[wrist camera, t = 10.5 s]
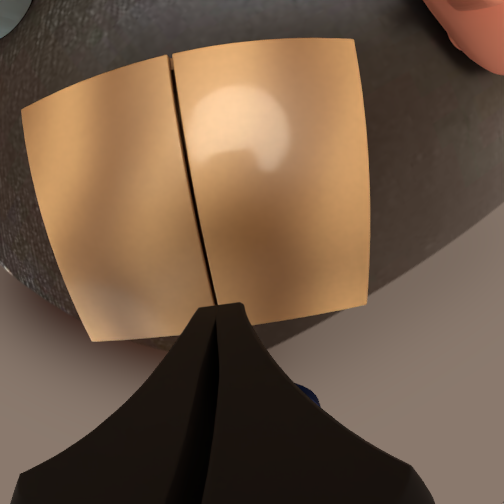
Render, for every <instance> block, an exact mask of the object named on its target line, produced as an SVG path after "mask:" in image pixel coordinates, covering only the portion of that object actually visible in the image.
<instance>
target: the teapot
mask: <svg viewBox="0 0 504 504" xmlns="http://www.w3.org/2000/svg"><path fill="white" fill-rule="evenodd" d="M423 1H424V3H425V4H426V6H427V7H428V8H429V10H430V11H431V12H432V14H433V15H434V16H435V18H436V19H437V20H438V22H439V23H440V24H441V25H442V27H443V28H444V29H445V30H446V32H447V34H448V37H449V39H450V41H451V42H452V44H453V45H454V46H455V47H456V48H458V49H459V50H462V51H463V52H464V53H465V54H466V55H467V56H468V57H469V58H470V59H471V60H473V61H474V62H475V63H477V64H478V65H480V66H481V67H483V68H485V69H486V70H488V71H490V72H492V73H495V74H498V75H504V0H423Z"/></svg>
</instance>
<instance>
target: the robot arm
mask: <svg viewBox="0 0 504 504" xmlns="http://www.w3.org/2000/svg"><path fill="white" fill-rule="evenodd" d="M10 504H435V502H434V500H433V497H432V495H431V493H430V492H429V490H428V488H427V487H426V485H425V484H424V482H423V481H422V479H421V478H420V476H419V475H418V474H417V472H416V471H415V470H414V469H413V467H412V466H411V465H409V464H407V463H405V462H403V461H401V460H399V459H397V458H395V457H394V456H391V455H390V454H388V453H386V452H384V451H382V450H381V449H379V448H377V447H375V446H374V445H372V444H370V443H369V442H367V441H365V440H364V439H362V438H361V437H359V436H358V435H356V434H355V433H353V432H352V431H350V430H349V429H347V428H346V427H345V426H343V425H342V424H340V423H339V422H338V421H337V420H335V419H334V418H333V417H332V416H330V415H329V414H328V413H327V412H325V411H324V410H323V409H322V408H320V407H319V406H318V405H317V404H315V403H314V402H313V401H312V400H311V399H310V398H309V397H308V396H307V395H306V394H305V393H304V392H303V391H302V390H300V388H299V387H298V386H297V385H296V384H295V383H293V381H292V380H291V379H290V378H289V377H288V376H287V375H286V374H285V373H284V371H283V370H282V369H281V368H280V367H279V365H278V364H277V363H276V362H275V360H274V359H273V358H272V356H271V355H270V354H269V352H268V351H267V350H266V348H265V347H264V345H263V344H262V342H261V341H260V339H259V337H258V336H257V334H256V333H255V331H254V329H253V327H252V325H251V323H250V321H249V319H248V317H247V314H246V311H245V306H244V304H242V303H241V302H236V303H229V304H221V305H214V306H207V307H199V308H198V309H197V310H196V312H195V313H194V315H193V316H192V318H191V319H190V321H189V322H188V324H187V326H186V327H185V329H184V330H183V332H182V333H181V335H180V336H179V338H178V339H177V341H176V342H175V343H174V345H173V346H172V348H171V349H170V351H169V352H168V353H167V355H166V356H165V357H164V359H163V360H162V361H161V363H160V364H159V365H158V366H157V368H156V369H155V370H154V371H153V373H152V374H151V375H150V376H149V378H148V379H147V380H146V381H145V382H144V383H143V385H142V386H141V387H140V388H139V389H138V390H137V391H136V392H135V393H134V394H133V395H132V396H131V397H130V398H129V399H128V400H127V401H126V402H125V403H124V404H123V405H122V406H121V407H120V408H119V409H118V410H117V411H115V412H114V413H113V414H112V415H111V416H110V417H108V418H107V419H106V420H105V421H104V422H103V423H101V424H100V425H99V426H98V427H97V428H96V429H94V430H93V431H92V432H90V433H89V434H88V435H86V436H85V437H83V438H82V439H81V440H79V441H78V442H76V443H75V444H73V445H72V446H70V447H69V448H67V449H66V450H64V451H63V452H61V453H59V454H58V455H56V456H54V457H53V458H51V459H49V460H47V461H45V462H43V463H41V464H39V465H37V466H35V467H34V468H32V469H30V470H28V471H26V472H23V473H21V474H20V476H19V479H18V481H17V484H16V487H15V490H14V493H13V497H12V500H11V503H10ZM502 504H504V502H503V503H502Z"/></svg>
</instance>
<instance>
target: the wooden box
mask: <svg viewBox="0 0 504 504" xmlns="http://www.w3.org/2000/svg"><path fill="white" fill-rule="evenodd" d="M21 114H22V122H23V130H24V137H25V143H26V149H27V154H28V160H29V165H30V170H31V174H32V179H33V183H34V188H35V192H36V196H37V200H38V203H39V207H40V211H41V214H42V218H43V221H44V224H45V228H46V231H47V234H48V237H49V240H50V243H51V246H52V249H53V252H54V255H55V258H56V260H57V263H58V266H59V269H60V271H61V274H62V276H63V279H64V281H65V284H66V286H67V289H68V291H69V294H70V296H71V298H72V301H73V303H74V305H75V307H76V310H77V312H78V314H79V316H80V318H81V320H82V322H83V325H84V327H85V329H86V331H87V333H88V334H89V337H90V339H91V341H92V342H96V341H114V340H129V339H142V338H154V337H165V336H175V335H181V333H182V332H183V330H184V329H185V327H186V326H187V324H188V322H189V321H190V319H191V318H192V316H193V315H194V313H195V312H196V310H197V309H198V308H199V307H207V306H214V305H218V303H217V298H216V294H215V290H214V285H213V281H212V276H211V272H210V267H209V263H208V258H207V253H206V249H205V244H204V239H203V234H202V229H201V224H200V219H199V214H198V209H197V204H196V199H195V194H194V188H193V183H192V178H191V172H190V167H189V161H188V155H187V149H186V144H185V138H184V132H183V125H182V119H181V113H180V106H179V100H178V93H177V86H176V79H175V72H174V65H173V58H171V59H169V57H168V55H164V56H159V57H155V58H152V59H148V60H144V61H141V62H137V63H134V64H130V65H127V66H124V67H121V68H118V69H115V70H112V71H109V72H106V73H103V74H100V75H97V76H95V77H92V78H89V79H87V80H84V81H82V82H79V83H77V84H74V85H72V86H69V87H67V88H65V89H62V90H60V91H58V92H56V93H54V94H51V95H49V96H47V97H45V98H43V99H41V100H39V101H37V102H35V103H33V104H31V105H29V106H27V107H25V108H23V109H22V110H21Z"/></svg>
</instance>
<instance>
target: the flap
mask: <svg viewBox="0 0 504 504" xmlns="http://www.w3.org/2000/svg"><path fill="white" fill-rule="evenodd" d="M172 57H173V65H174V72H175V79H176V86H177V93H178V100H179V106H180V113H181V119H182V125H183V132H184V138H185V144H186V149H187V155H188V161H189V167H190V172H191V178H192V183H193V188H194V194H195V199H196V204H197V209H198V214H199V219H200V224H201V229H202V234H203V239H204V244H205V249H206V253H207V258H208V263H209V267H210V272H211V276H212V281H213V285H214V290H215V294H216V298H217V303H218V305H221V304H229V303H236V302H241V303H242V304H244V306H245V311H246V314H247V317H248V319H249V321H250V323H251V325H256V324H263V323H270V322H276V321H282V320H288V319H294V318H300V317H306V316H312V315H317V314H322V313H328V312H333V311H338V310H343V309H348V308H353V307H357V306H362V305H366V304H367V295H368V279H369V257H370V183H369V161H368V145H367V133H366V122H365V112H364V103H363V95H362V87H361V80H360V73H359V66H358V60H357V54H356V49H355V43H354V39H341V38H285V39H268V40H256V41H246V42H237V43H229V44H222V45H216V46H210V47H204V48H198V49H193V50H188V51H183V52H178V53H174V54H172Z"/></svg>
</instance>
